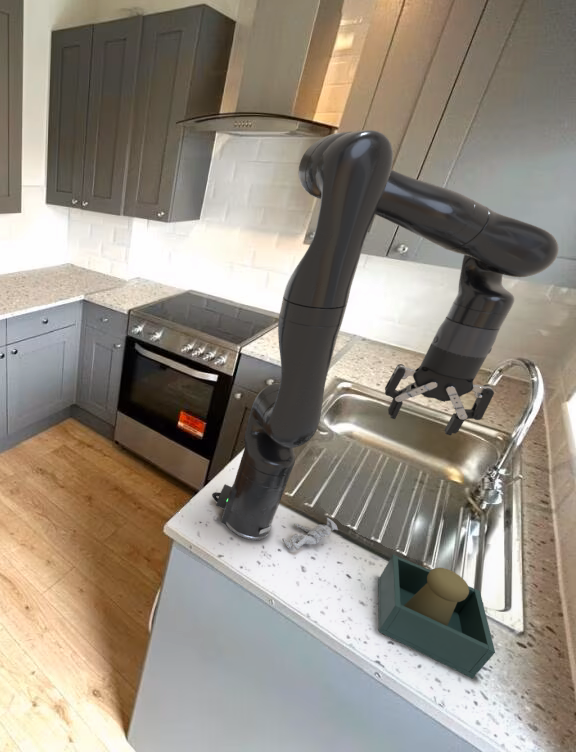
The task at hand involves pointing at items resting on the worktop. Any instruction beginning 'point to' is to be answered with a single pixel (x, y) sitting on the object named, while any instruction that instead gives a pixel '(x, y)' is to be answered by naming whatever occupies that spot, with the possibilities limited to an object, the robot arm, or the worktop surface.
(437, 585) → the cork
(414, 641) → the tote
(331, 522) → the soldier figure
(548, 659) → the worktop surface
